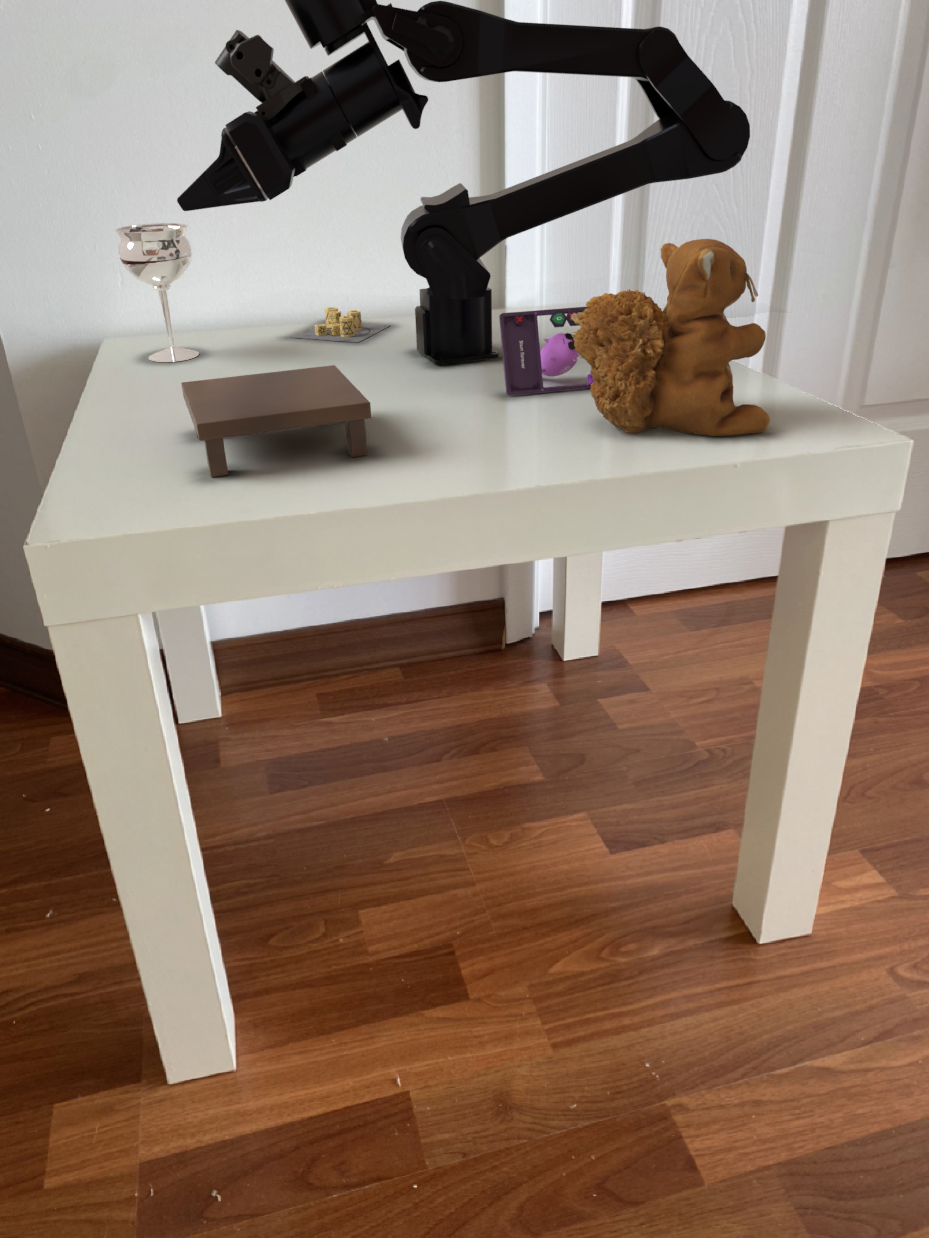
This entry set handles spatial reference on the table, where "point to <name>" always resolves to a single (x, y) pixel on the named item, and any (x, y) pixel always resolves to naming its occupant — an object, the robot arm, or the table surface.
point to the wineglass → (158, 268)
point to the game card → (537, 351)
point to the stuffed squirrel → (674, 347)
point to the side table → (274, 407)
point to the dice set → (341, 327)
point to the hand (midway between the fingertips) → (188, 199)
